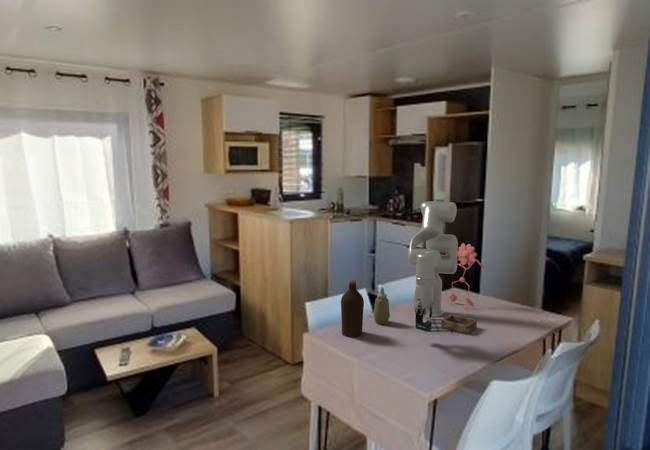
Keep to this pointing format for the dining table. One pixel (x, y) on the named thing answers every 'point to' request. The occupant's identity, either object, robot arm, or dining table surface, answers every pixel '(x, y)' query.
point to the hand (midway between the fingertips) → (423, 319)
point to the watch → (424, 320)
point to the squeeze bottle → (381, 308)
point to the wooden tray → (459, 324)
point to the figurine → (465, 256)
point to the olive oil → (352, 311)
